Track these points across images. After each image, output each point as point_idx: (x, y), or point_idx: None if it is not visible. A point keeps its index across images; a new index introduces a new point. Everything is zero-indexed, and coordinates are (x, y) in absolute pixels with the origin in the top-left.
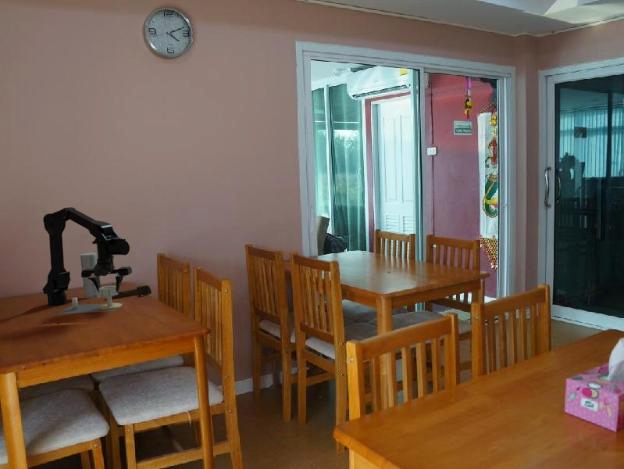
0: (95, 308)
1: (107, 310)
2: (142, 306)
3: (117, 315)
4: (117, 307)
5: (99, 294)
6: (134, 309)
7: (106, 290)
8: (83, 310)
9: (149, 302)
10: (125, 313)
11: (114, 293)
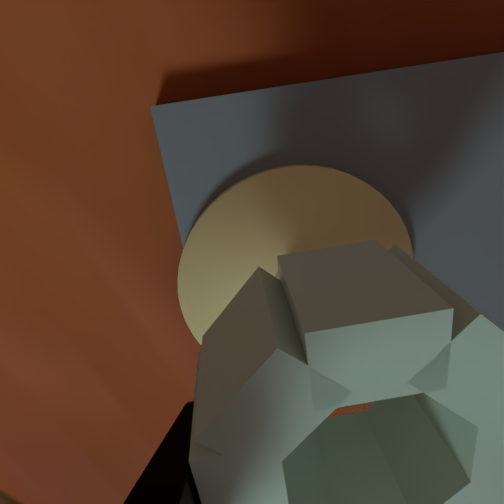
0: (434, 235)
1: (258, 140)
2: (25, 368)
3: (62, 4)
4: (187, 240)
5: (471, 304)
6: (31, 270)
7: (342, 310)
8: None
9: (53, 473)
10: (19, 104)
11: (208, 345)
